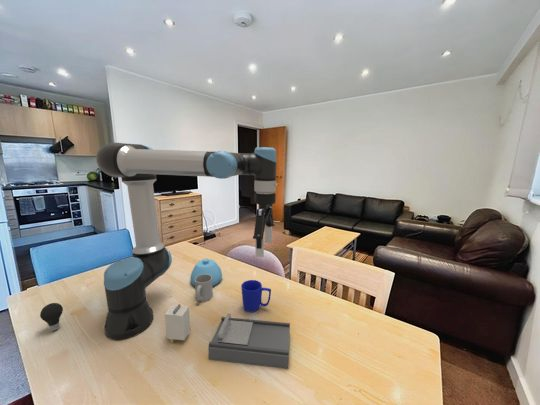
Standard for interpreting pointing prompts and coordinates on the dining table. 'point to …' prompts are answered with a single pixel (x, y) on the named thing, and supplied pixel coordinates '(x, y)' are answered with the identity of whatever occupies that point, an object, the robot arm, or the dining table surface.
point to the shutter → (235, 332)
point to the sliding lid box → (256, 345)
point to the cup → (203, 287)
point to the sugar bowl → (207, 271)
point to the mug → (253, 295)
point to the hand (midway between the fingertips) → (264, 249)
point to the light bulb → (52, 315)
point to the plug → (177, 323)
